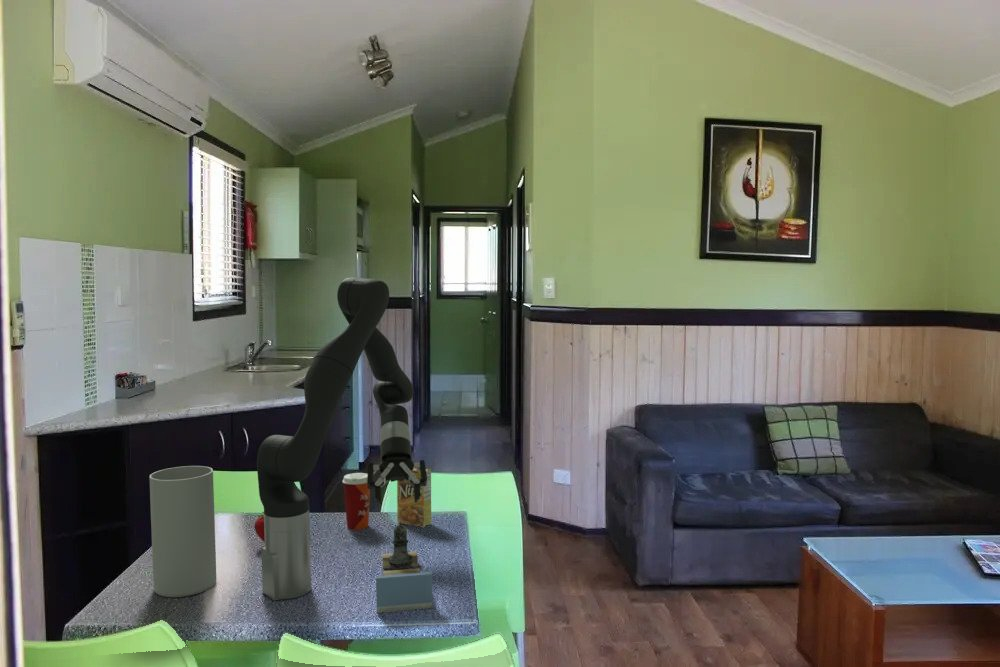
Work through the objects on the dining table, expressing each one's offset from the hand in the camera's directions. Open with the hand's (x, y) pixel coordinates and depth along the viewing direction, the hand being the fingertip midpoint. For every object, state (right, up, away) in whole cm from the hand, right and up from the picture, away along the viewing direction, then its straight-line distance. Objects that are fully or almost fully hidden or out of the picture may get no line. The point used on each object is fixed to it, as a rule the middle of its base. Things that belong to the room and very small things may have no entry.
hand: (398, 501), depth 171 cm
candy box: (+1, -12, +27) cm, 30 cm away
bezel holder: (+4, -15, -22) cm, 27 cm away
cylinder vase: (-44, -15, -14) cm, 49 cm away
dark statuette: (+2, -15, -8) cm, 17 cm away
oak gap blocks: (+2, -14, -8) cm, 17 cm away
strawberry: (-34, -14, +11) cm, 38 cm away
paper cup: (-14, -13, +25) cm, 32 cm away
